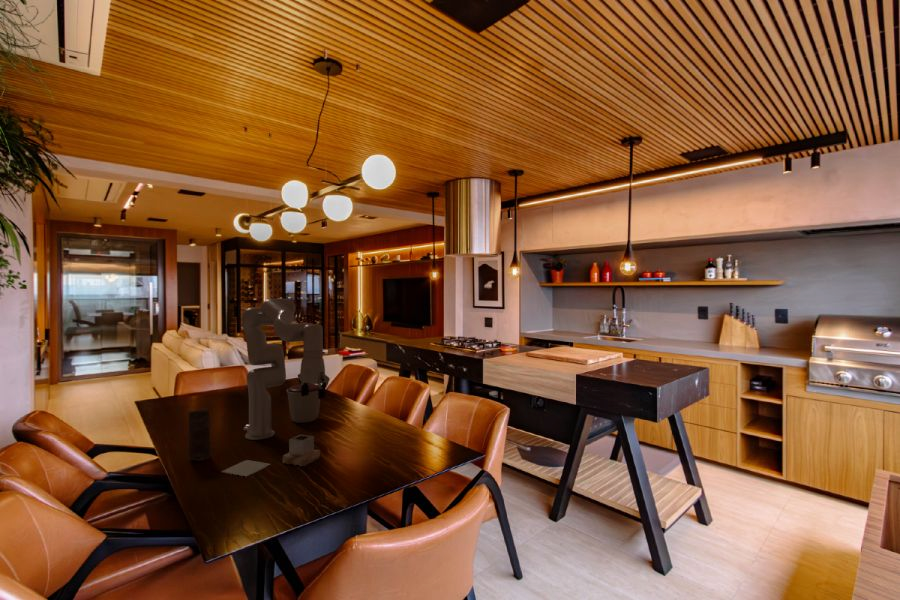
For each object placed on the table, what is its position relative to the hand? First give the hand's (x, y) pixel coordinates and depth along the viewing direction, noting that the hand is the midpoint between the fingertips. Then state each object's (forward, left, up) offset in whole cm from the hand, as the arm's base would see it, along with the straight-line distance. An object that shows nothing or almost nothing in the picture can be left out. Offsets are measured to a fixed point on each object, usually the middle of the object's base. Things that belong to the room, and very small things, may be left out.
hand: (313, 396), depth 175 cm
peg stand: (-2, -4, -25) cm, 25 cm away
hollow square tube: (-2, -4, -22) cm, 22 cm away
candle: (-41, -17, -25) cm, 51 cm away
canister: (-37, +42, -25) cm, 61 cm away
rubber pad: (-16, -18, -25) cm, 35 cm away
